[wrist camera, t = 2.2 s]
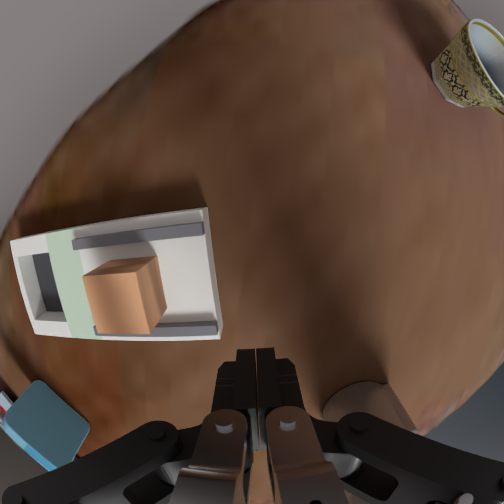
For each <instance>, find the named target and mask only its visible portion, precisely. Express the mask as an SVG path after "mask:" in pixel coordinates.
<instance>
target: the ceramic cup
mask: <svg viewBox="0 0 504 504" xmlns="http://www.w3.org/2000/svg"><path fill="white" fill-rule="evenodd" d="M431 68H432V76H433V82H434V84H435V85H436V87H437V88H438V89H439V91H440V92H441V94H442V95H443V97H444V98H445V100H447V101H449V102H451V103H453V104H455V105H457V106H459V107H488V108H491V109H492V110H494V111H495V112H496V113H497V114H499V115H500V116H502V117H503V118H504V113H503V112H501V111H499V110H498V109H497V108H496V107H500V108H504V37H503V36H502V35H501V34H500V33H499V32H498V31H497V30H496V29H495V28H494V27H493V26H492V25H490V24H489V23H487V22H486V21H483V20H481V19H477V18H474V19H471V20H470V21H469V22H468V23H467V24H466V25H465V26H464V27H463V28H462V29H461V30H460V31H459V32H458V33H457V34H456V36H455V37H454V38H453V40H452V41H451V43H450V44H449V45H448V46H447V47H446V48H445V49H444V50H443V51H442V53H441V54H440V55H439V56H438V57H437V58H436V59H435V60H434V61H433V62H432V63H431Z"/></svg>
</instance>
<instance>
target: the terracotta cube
mask: <svg viewBox="0 0 504 504" xmlns="http://www.w3.org/2000/svg"><path fill="white" fill-rule="evenodd" d="M82 278H83V283H84V287H85V291H86V294H87V298H88V302H89V305H90V309H91V312H92V316H93V319H94V322H95V326H96V329H97V332H98V333H102V334H151V332H152V331H153V329H154V328H155V326H156V325H157V323H158V322H159V320H160V318H161V317H162V315H163V314H164V312H165V311H166V309H167V304H166V300H165V295H164V290H163V285H162V279H161V274H160V268H159V262H158V257H157V256H148V257H138V258H128V259H117V260H109V261H108V262H106V263H104V264H102V265H101V266H99V267H97V268H95V269H94V270H92V271H90V272H88V273H87V274H85V275H83V276H82Z"/></svg>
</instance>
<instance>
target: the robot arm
mask: <svg viewBox="0 0 504 504" xmlns="http://www.w3.org/2000/svg"><path fill="white" fill-rule="evenodd" d="M256 356H257V374H256V359H255V349H237V355H236V361H230V362H224V363H223V364H222V365H221V367H220V368H219V369H218V374H217V379H216V386H215V391H214V397H213V403H212V409H211V413H210V414H208V415H207V416H206V417H205V418H204V420H203V423H202V424H200V425H198V426H195V427H192V428H186V429H181V430H177V429H176V427H175V426H174V425H172V424H171V423H168V422H165V421H151V422H148V423H146V424H144V425H142V426H140V427H138V428H137V429H135V430H133V431H131V432H130V433H128V434H126V435H124V436H122V437H120V438H119V439H117V440H115V441H113V442H111V443H109V444H107V445H105V446H103V447H101V448H99V449H97V450H95V451H93V452H91V453H89V454H87V455H85V456H83V457H81V458H79V459H77V460H75V461H72V462H70V463H68V464H66V465H63V466H61V467H59V468H57V469H54V470H52V471H49V472H47V473H45V474H42V475H40V476H37V477H34V478H32V479H29V480H27V481H24V482H21V483H18V484H15V485H12V486H10V487H8V488H7V489H6V490H5V491H4V493H3V496H2V504H168V503H169V504H249V496H250V487H251V477H252V464H253V450H259V426H260V440H261V450H264V449H267V463H268V472H269V478H270V484H271V490H272V496H273V502H274V504H504V462H500V461H496V460H492V459H489V458H485V457H482V456H478V455H475V454H472V453H469V452H465V451H462V450H459V449H456V448H453V447H450V446H447V445H445V444H442V443H439V442H436V441H434V440H431V439H428V438H426V437H423V436H421V435H418V434H417V428H416V427H415V425H414V423H413V422H412V420H411V418H410V417H409V415H408V414H407V412H406V410H405V409H404V407H403V405H402V404H401V402H400V401H399V399H398V397H397V396H396V394H395V393H394V391H393V389H392V388H391V386H390V385H389V384H384V385H381V384H379V383H376V382H371V381H366V382H359V383H355V384H352V385H349V386H347V387H345V388H343V389H342V390H340V391H339V392H337V393H336V394H335V395H333V396H332V397H331V398H330V399H329V401H328V402H327V403H326V405H325V407H324V409H323V413H322V414H323V420H324V421H322V420H318V419H315V418H313V417H312V416H310V415H309V414H308V413H307V412H306V410H305V408H304V404H303V400H302V395H301V391H300V387H299V382H298V378H297V375H296V370H295V365H294V364H293V363H292V362H291V361H290V360H289V359H288V358H284V359H275V352H274V347H273V348H257V349H256ZM257 386H258V392H257ZM258 412H259V423H258Z"/></svg>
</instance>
